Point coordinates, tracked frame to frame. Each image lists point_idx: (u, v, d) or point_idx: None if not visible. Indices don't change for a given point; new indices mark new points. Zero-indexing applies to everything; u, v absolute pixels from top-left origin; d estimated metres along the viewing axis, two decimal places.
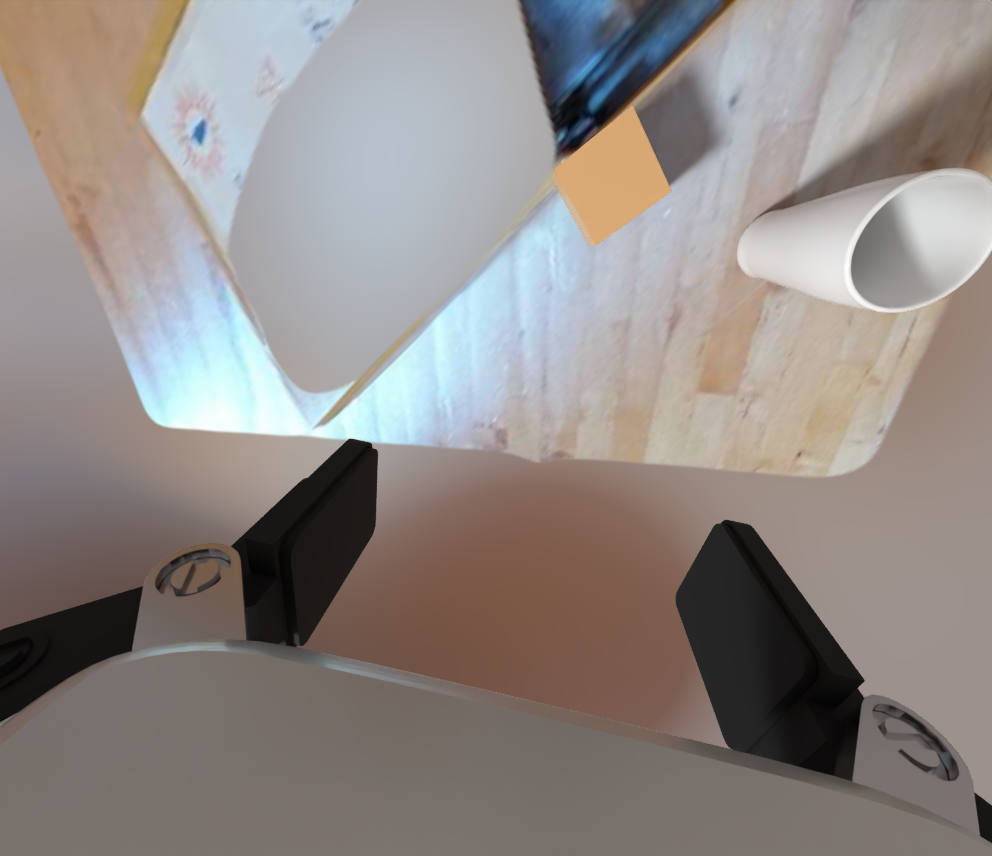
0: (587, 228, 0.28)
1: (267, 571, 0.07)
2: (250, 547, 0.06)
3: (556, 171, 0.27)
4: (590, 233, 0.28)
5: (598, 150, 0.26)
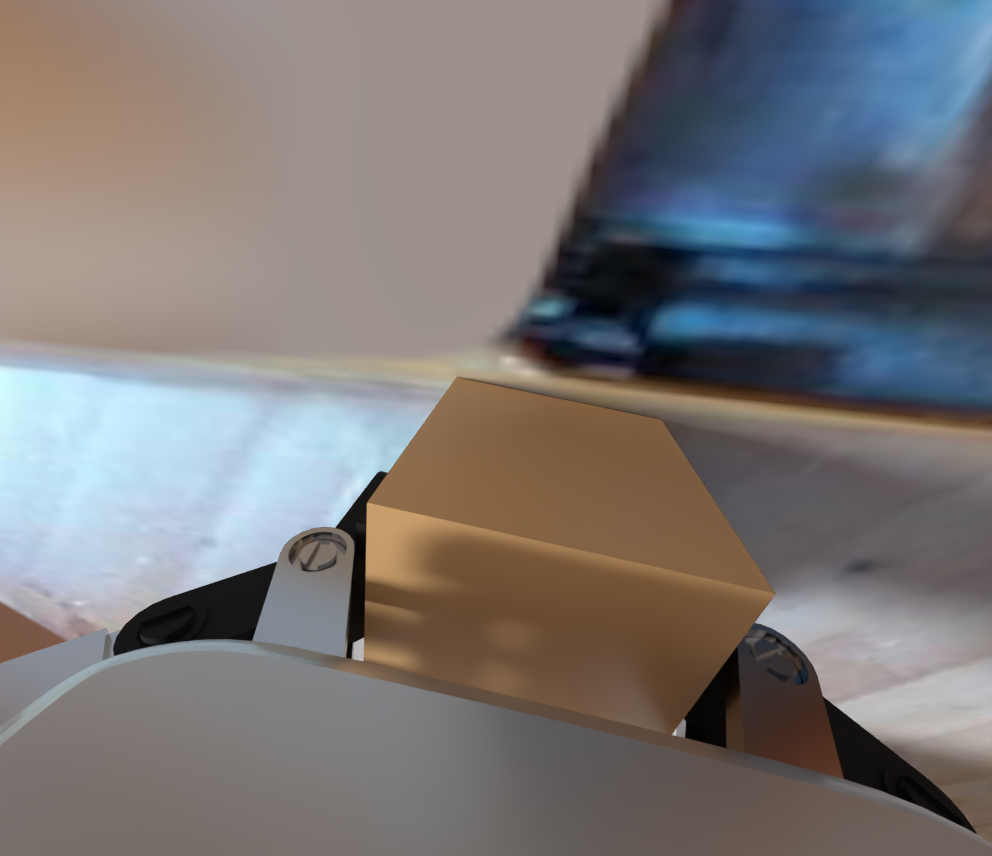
0: None
1: None
2: (359, 530, 0.07)
3: (372, 512, 0.06)
4: None
5: (555, 588, 0.06)
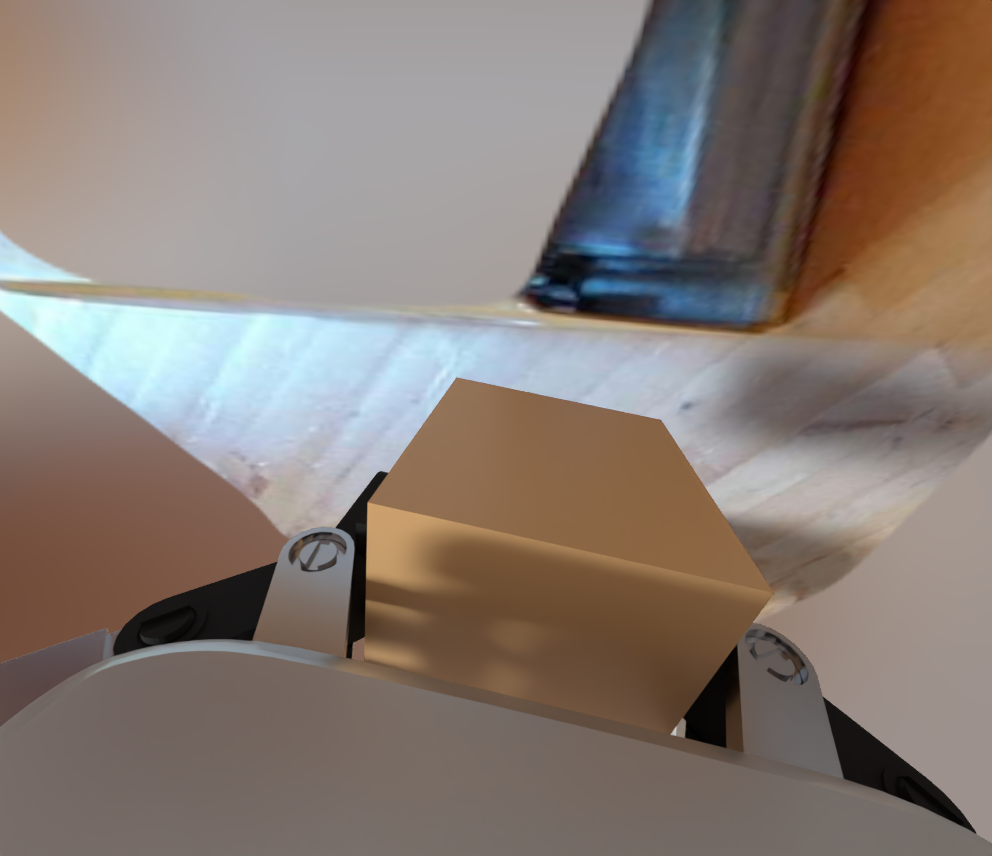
0: None
1: None
2: (359, 530, 0.07)
3: (372, 512, 0.06)
4: None
5: (555, 587, 0.06)
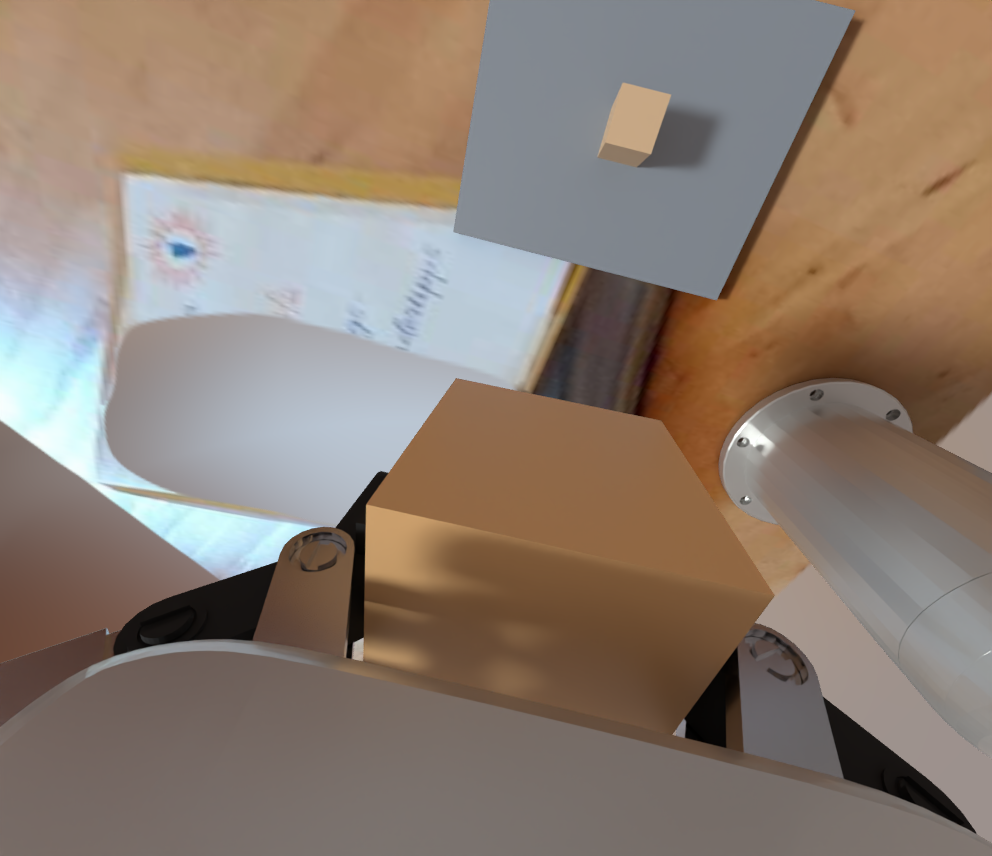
0: None
1: None
2: (359, 530, 0.07)
3: (371, 514, 0.06)
4: None
5: (554, 589, 0.06)
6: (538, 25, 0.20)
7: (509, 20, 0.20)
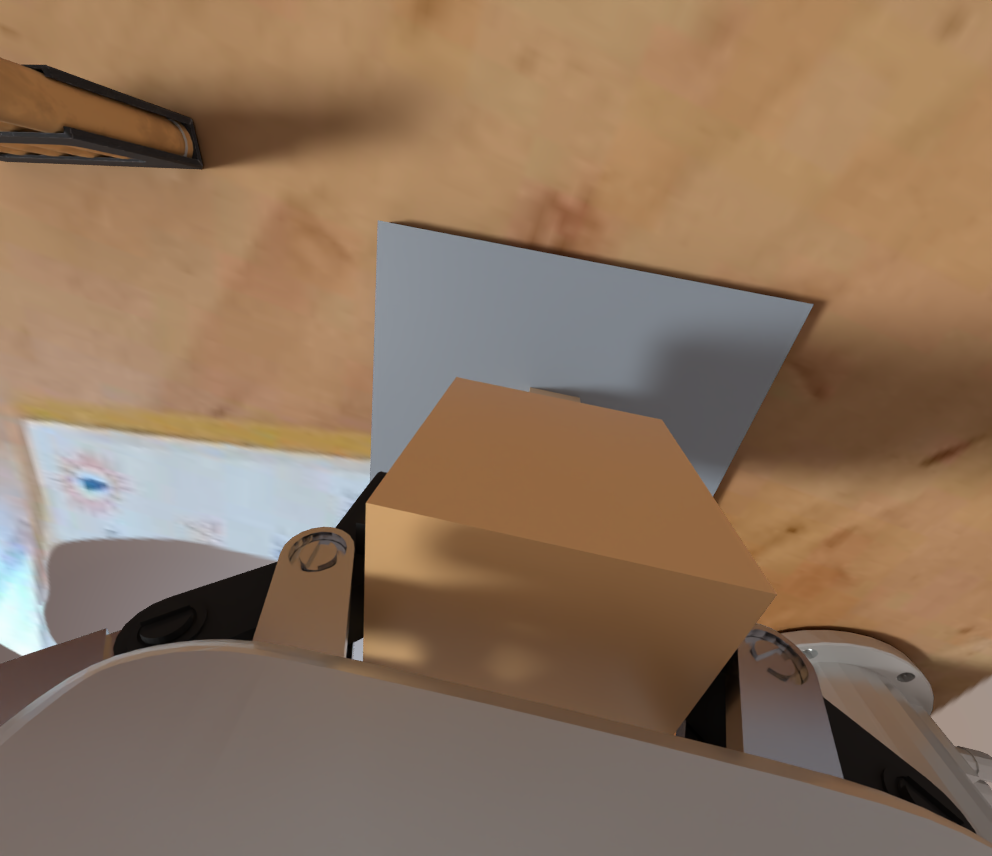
0: None
1: None
2: (359, 530, 0.07)
3: (371, 512, 0.06)
4: None
5: (555, 588, 0.06)
6: (434, 313, 0.17)
7: (400, 308, 0.17)
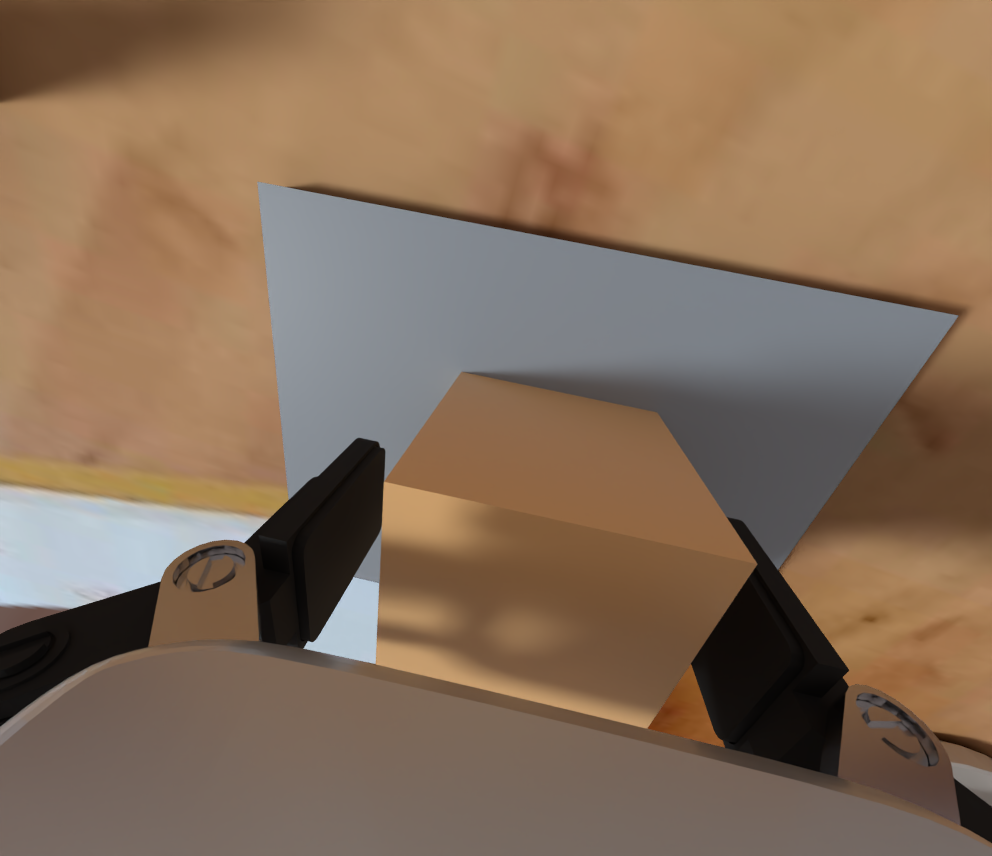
0: (380, 655, 0.08)
1: (280, 568, 0.07)
2: (264, 544, 0.07)
3: (388, 491, 0.06)
4: None
5: (556, 561, 0.06)
6: (359, 327, 0.11)
7: (308, 320, 0.11)
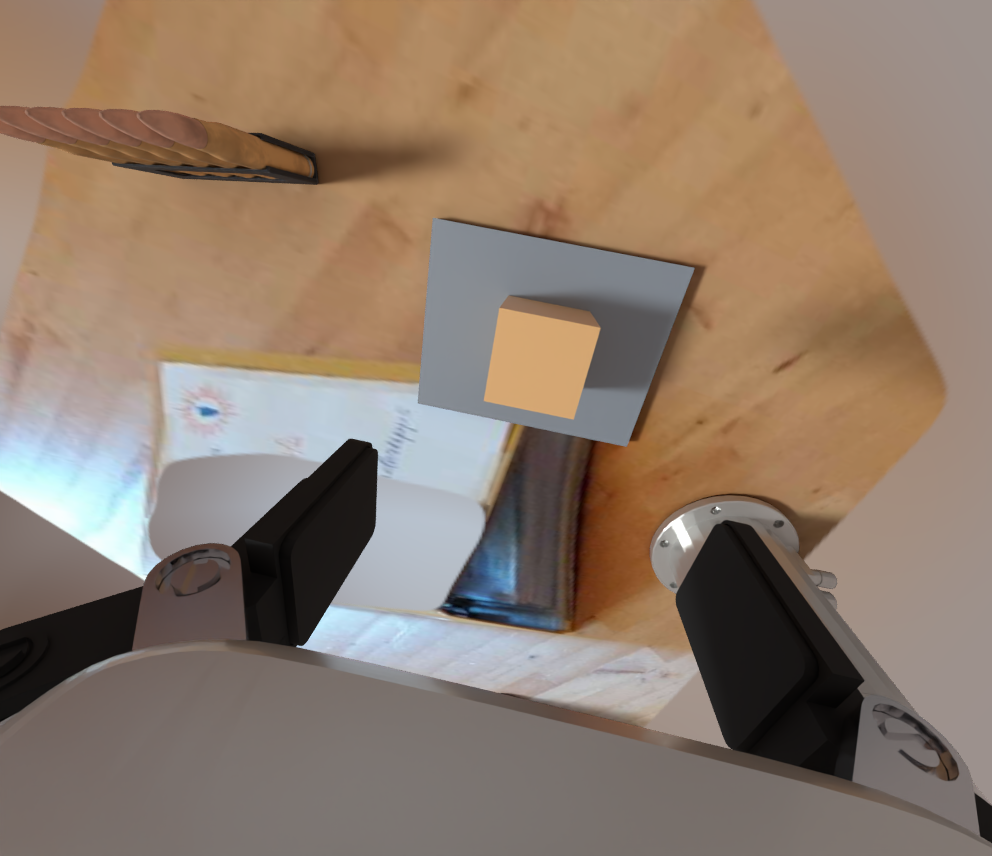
0: (488, 381, 0.24)
1: (267, 571, 0.07)
2: (250, 547, 0.06)
3: (500, 311, 0.22)
4: (487, 388, 0.24)
5: (547, 332, 0.22)
6: (466, 276, 0.27)
7: (445, 273, 0.27)
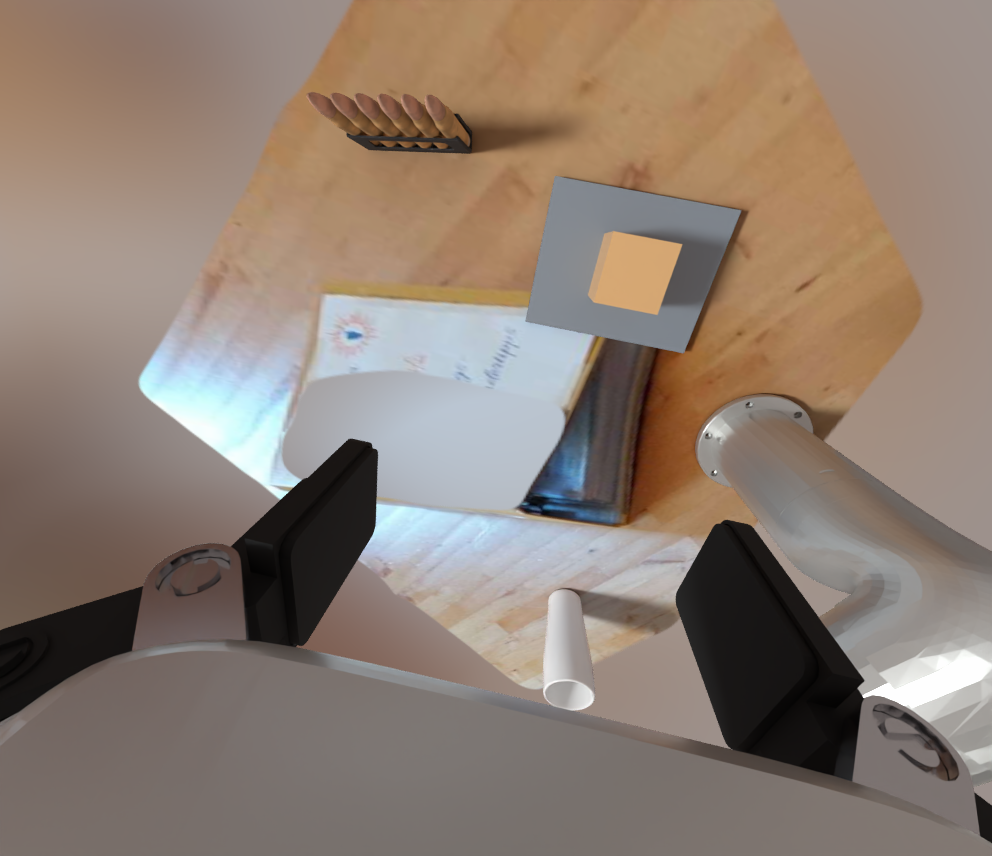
0: (598, 287, 0.35)
1: (267, 571, 0.07)
2: (250, 547, 0.06)
3: (613, 233, 0.33)
4: (597, 292, 0.35)
5: (645, 248, 0.33)
6: (574, 219, 0.38)
7: (558, 217, 0.38)
